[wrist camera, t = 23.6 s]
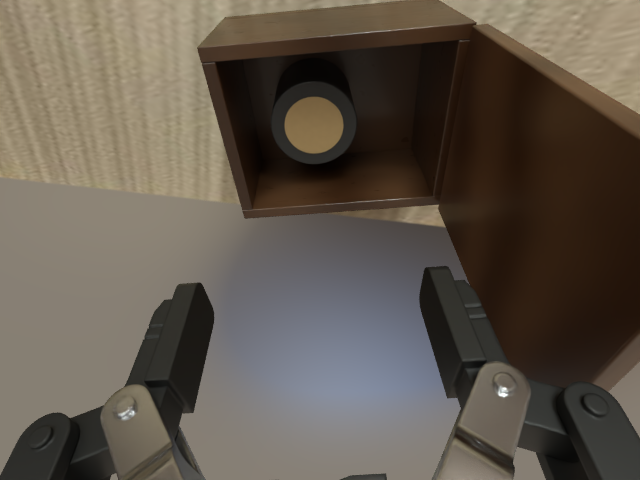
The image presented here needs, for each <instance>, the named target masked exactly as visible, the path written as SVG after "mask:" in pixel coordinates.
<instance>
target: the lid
mask: <svg viewBox="0 0 640 480" xmlns="http://www.w3.org/2000/svg"><path fill="white" fill-rule="evenodd" d="M438 209H439V212H440V214H441V216H442V219H443V221H444V224H445V226H446V228H447V231H448V233H449V235H450V238H451V240H452V243H453V245H454V248H455V250H456V252H457V255H458V257H459V260H460V262H461V265H462V267H463V269H464V272H465V274H466V276H467V279H468V282H469V284H470V286H471V287H472V288H473V289H474V290H475V291H476V293H477V295H478V298H479V300H480V302H481V304H482V307H483V308H484V311H485V313H486V316H487V318H488V319H489V321H490V324H491V326H492V328H493V330H494V332H495V334H496V336H497V339H498V341H499V343H500V345H501V347H502V349H503V352H504V354H505V356H506V358H507V360H508V361H509V363H510V364H511V365H512V366H513V367H515V368H516V369H518V370H519V371H520V372H521V373H522V374H523V375H524V376H526V377H528V378H530V379H532V380H535V381H538V382H542V383H546V384H550V385H555V386H559V387H563V388H566V387H567V386H568V385H569V384H571V383H573V382H578V381H583V382H589V383H592V384H595V385H597V386H599V387H601V388H603V389H604V390H606V391H607V392H608V391H609V390H611V389H612V388H613V387H614V386H615V385H616V384H617V383H618V382H619V381H620V380H621V379H622V378H623V377H624V376H625V375H626V374H627V373H628V372H629V371H630V370H631V369H632V368H634V366H636V365H637V364H638V363H639V362H640V114H638V113H636V112H635V111H633V110H631V109H630V108H628V107H626V106H625V105H623V104H621V103H620V102H618V101H616V100H615V99H613V98H611V97H609V96H608V95H606V94H604V93H603V92H601V91H599V90H598V89H596V88H594V87H593V86H591V85H589V84H588V83H586V82H584V81H583V80H581V79H579V78H578V77H576V76H574V75H573V74H571V73H569V72H568V71H566V70H564V69H563V68H561V67H559V66H558V65H556V64H554V63H553V62H551V61H549V60H548V59H546V58H544V57H543V56H541V55H539V54H538V53H536V52H534V51H533V50H531V49H529V48H527V47H526V46H524V45H522V44H521V43H519V42H517V41H516V40H514V39H512V38H511V37H509V36H507V35H506V34H504V33H502V32H501V31H499V30H497V29H496V28H494V27H492V26H491V25H489V24H481V25H474V26H473V27H472V31H471V37H470V42H469V47H468V53H467V58H466V63H465V69H464V74H463V79H462V85H461V90H460V96H459V101H458V106H457V112H456V117H455V122H454V128H453V133H452V138H451V144H450V149H449V154H448V160H447V165H446V170H445V176H444V181H443V186H442V192H441V197H440V202H439V208H438Z"/></svg>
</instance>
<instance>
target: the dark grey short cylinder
mask: <svg viewBox="0 0 640 480" xmlns="http://www.w3.org/2000/svg"><path fill="white" fill-rule="evenodd" d="M356 129H357V116H356V111H355V107H354V103H353V99H352V94H351V90H350V86H349V83H348V80H347V79H346V77H345V75H344V74H343V72H342V71H341V70H340V69H339V68H338V67H337V66H336V65H334V64H333V63H331V62H329V61H327V60H324V59H320V58H307V59H303V60H300V61H297V62H295V63H294V64H292V65H291V66H290V67H288V68H287V69H286V71H285V72H284V73H283V74H282V76H281V78H280V80H279V82H278V85H277V89H276V94H275V99H274V104H273V109H272V114H271V130H272V135H273V137H274V140H275V141H276V143H277V145H278V146H279V148H280V149H281V150H282V151H283V152H284V153H285V154H286V155H288V156H289V157H291V158H292V159H294V160H296V161H299V162H302V163H306V164H322V163H326V162H329V161H332V160H334V159H336V158H337V157H339V156H340V155H342V154H343V153H344V152H345V151H346V150H347V149H348V148H349V146H350V145H351V143H352V141H353V139H354V137H355V134H356Z"/></svg>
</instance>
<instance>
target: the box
mask: <svg viewBox="0 0 640 480" xmlns="http://www.w3.org/2000/svg"><path fill="white" fill-rule="evenodd" d="M474 25H476V22H475V21H473V20H471V19H470V18H468V17H466V16H465V15H463V14H461V13H460V12H458V11H456V10H454V9H453V8H451V7H449V6H448V5H446V4H444V3H443V2H441V1H439V0H407V1H397V2H386V3H375V4H364V5H353V6H343V7H332V8H321V9H310V10H299V11H289V12H278V13H267V14H256V15H245V16H234V17H225V18H224V19H223V20H222V21H221V22H220V23H219V24H218V25H217V27H216V28H215V29H214V30H213V31H212V32H211V33H210V34H209V35H208V36H207V37H206V39H205V40H204V41H203V42H202V43H201V44H200V45H199V46H198V47H197V49H198V53H199V56H200V60H201V63H202V66H203V70H204V74H205V77H206V81H207V84H208V88H209V92H210V95H211V99H212V102H213V106H214V110H215V113H216V117H217V120H218V124H219V128H220V131H221V135H222V138H223V142H224V146H225V149H226V153H227V156H228V160H229V163H230V167H231V171H232V174H233V178H234V181H235V185H236V189H237V192H238V196H239V199H240V203H241V207H242V210H243V214H244V218H259V217H271V216H272V217H273V216H287V215H299V214H314V213H328V212H342V211H356V210H370V209H383V208H397V207H411V206H425V205H439V202H440V197H441V192H442V186H443V181H444V176H445V170H446V165H447V160H448V154H449V149H450V144H451V138H452V133H453V128H454V122H455V117H456V112H457V106H458V101H459V96H460V90H461V85H462V79H463V74H464V69H465V63H466V58H467V53H468V47H469V42H470V37H471V31H472V27H473V26H474ZM307 58H320V59H324V60H327V61H329V62H331V63H333V64H334V65H336V66H337V67H338V68H339V69H340V70H341V71H342V72H343V74H344V75H345V77H346V79H347V80H348V83H349V86H350V90H351V94H352V99H353V103H354V107H355V111H356V116H357V129H356V134H355V137H354V139H353V141H352V143H351V145H350V146H349V148H348V149H347V150H346V151H345V152H344V153H343V154H342V155H340V156H339V157H337V158H336V159H334V160H332V161H329V162H326V163H322V164H306V163H302V162H299V161H296V160H294V159H292V158H291V157H289V156H288V155H286V154H285V153H284V152H283V151H282V150H281V149H280V148H279V146H278V145H277V143H276V141H275V140H274V137H273V135H272V130H271V114H272V109H273V104H274V99H275V94H276V89H277V85H278V82H279V80H280V78H281V76H282V74H283V73H284V72H285V71H286V69H287V68H288V67H290V66H291V65H292V64H294V63H295V62H297V61H300V60H303V59H307Z"/></svg>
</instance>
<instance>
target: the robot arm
mask: <svg viewBox="0 0 640 480" xmlns="http://www.w3.org/2000/svg"><path fill="white" fill-rule="evenodd" d="M420 308H421V312H422V316H423V319H424V322H425V326H426V329H427V332H428V336H429V339H430V342H431V345H432V349H433V352H434V356H435V359H436V362H437V366H438V368H439V372H440V376H441V379H442V382H443V385H444V389H445V392H446V396H447V398H458V401H459V404H460V407H461V410H460V412H459V415H458V417H457V419H456V422H455V424H454V427H453V429H452V432H451V434H450V437H449V439H448V442H447V444H446V447H445V449H444V451H443V454H442V456H441V459H440V461H439V464H438V466H437V468H436V470H435V473H434V475H433V477H432V480H513V477H514V471H515V470H514V469H515V467H514V465H513V459H514V455H515V451H516V448H517V447H520V448H524V449H527V450H530V451H534V452H536V455H537V457H538V460H539V463H540V465H541V468H542V470H543V473H544V476H545V478H546V480H640V438H639V436H638V434H637V433H636V431H635V429H634V428H633V426H632V424H631V423H630V421H629V419H628V417H627V416H626V414H625V412H624V411H623V409H622V407H621V406H620V404H619V403H618V401H617V400H616V399H615V398H614V397H613V396H612V395H611V394H610V393H608V392H607V391H606V390H604V389H603V388H601V387H599V386H597V385H595V384H592V383H589V382H583V381H578V382H573V383H571V384H569V385H568V386H567V387H566V388H563V387H559V386H555V385H550V384H546V383H542V382H538V381H535V380H532V379H530V378H528V377H526V376H524V375H523V374H522V373H521V372H520V371H519V370H518V369H516V368H515V367H513V366H512V365H511V364H510V363H509V361H508V360H507V358H506V356H505V354H504V352H503V349H502V347H501V345H500V343H499V341H498V339H497V336H496V334H495V332H494V330H493V328H492V326H491V324H490V321H489V319H488V318H487V316H486V313H485V311H484V308H483V307H482V304H481V302H480V300H479V298H478V295H477V293H476V291H475V290H474V289H473V288H472V287H471V286H470V285H469V284H468V283H467V282H466V281H465V280H458V281H454V278H453V276H452V273H451V271H450V269H449V267H447V266H440V267H426V268H425V270H424V274H423V279H422V285H421V290H420ZM213 324H214V311H213V307H212V305H211V303H210V301H209V299H208V296H207V294H206V292H205V289H204V287H203V285H202V284H201V283H187V284H179V285H178V286H177V287H176V290H175V292H174V295H173V298H172V300H164V301H163V302H162V303H161V305H160V306H159V307H158V308H157V309H156V311H155V312H154V314H153V316H152V319H151V321H150V324H149V329H147V332H146V334H145V339H144V340H143V342H142V345H141V347H140V350H139V352H138V355H137V357H136V360H135V363H134V365H133V368H132V370H131V373H130V376H129V378H128V380H127V383H126V385H125V386H124V387H123V388H121V389H120V390H118V391H117V392H115V393H114V394H113V395H112V396H111V397H110V398H109V399H108V401H107V402H106V403H105V405H103V406H101V407H99V408H96V409H94V410H91V411H88V412H86V413H83V414H80V415H78V416H75V417H73V418H68V416H66V415H65V414H62V413H51V414H48V415H45V416H43V417H41V418H39V419H38V420H36V421H35V422H34V423H32V424H31V425H30V426H29V427H28V428H27V429H26V430H25V431H24V432H23V434H22V435H21V436H20V438H19V440H18V442H17V443H16V446H15V448H14V449H13V451H12V454H11V455H10V457H9V460H8V461H7V463H6V465H5V467H4V469H3V471H2V473H1V475H0V480H110V477H111V475H112V474H114V473H117V477H118V480H206V479H205V477H204V476H203V474H202V472H201V470H200V468H199V466H198V464H197V462H196V459H195V458H194V455H193V453H192V451H191V449H190V447H189V445H188V443H187V441H186V439H185V437H184V434H183V432H182V430H181V428H180V427H179V423H180V419H181V415H182V413H193V412H194V408H195V403H196V399H197V395H198V390H199V386H200V381H201V377H202V373H203V368H204V364H205V360H206V355H207V350H208V346H209V342H210V337H211V333H212V329H213ZM341 480H387V477H386V474H370V475H352V476H348V477H346V478H343V479H341Z"/></svg>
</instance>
